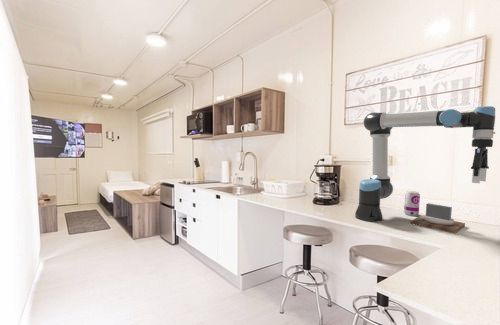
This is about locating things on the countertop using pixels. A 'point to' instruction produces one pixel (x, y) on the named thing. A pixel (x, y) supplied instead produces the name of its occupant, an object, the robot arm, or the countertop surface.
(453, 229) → the dial base
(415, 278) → the countertop surface
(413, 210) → the supplement can
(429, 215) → the dial
